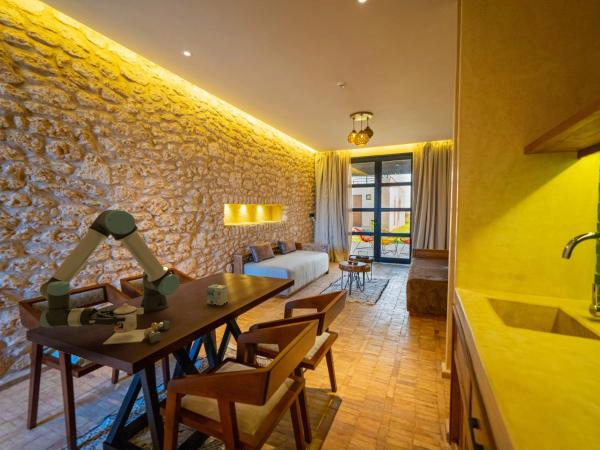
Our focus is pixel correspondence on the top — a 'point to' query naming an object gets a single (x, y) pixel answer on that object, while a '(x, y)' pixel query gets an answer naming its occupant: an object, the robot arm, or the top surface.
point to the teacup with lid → (125, 326)
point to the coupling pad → (126, 337)
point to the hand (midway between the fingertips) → (138, 314)
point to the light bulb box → (217, 294)
